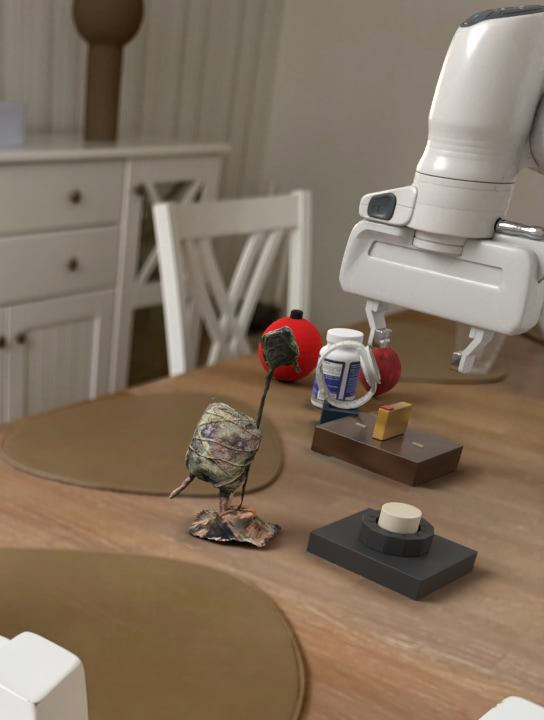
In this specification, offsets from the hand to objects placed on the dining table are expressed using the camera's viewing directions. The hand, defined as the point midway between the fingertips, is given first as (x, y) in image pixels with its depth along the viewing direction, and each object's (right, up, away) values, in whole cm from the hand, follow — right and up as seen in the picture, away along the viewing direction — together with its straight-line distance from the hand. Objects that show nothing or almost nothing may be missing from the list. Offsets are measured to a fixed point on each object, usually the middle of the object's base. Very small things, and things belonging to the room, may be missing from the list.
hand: (417, 358), depth 99 cm
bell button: (-4, -18, -7) cm, 20 cm away
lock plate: (+3, -7, +19) cm, 20 cm away
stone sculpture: (-20, -18, -1) cm, 27 cm away
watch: (-1, -1, +27) cm, 27 cm away
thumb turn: (+3, -4, +17) cm, 18 cm away
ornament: (-3, +10, +45) cm, 46 cm away
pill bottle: (+1, +4, +36) cm, 36 cm away
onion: (+8, +6, +41) cm, 42 cm away
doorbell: (-5, -21, -5) cm, 22 cm away
